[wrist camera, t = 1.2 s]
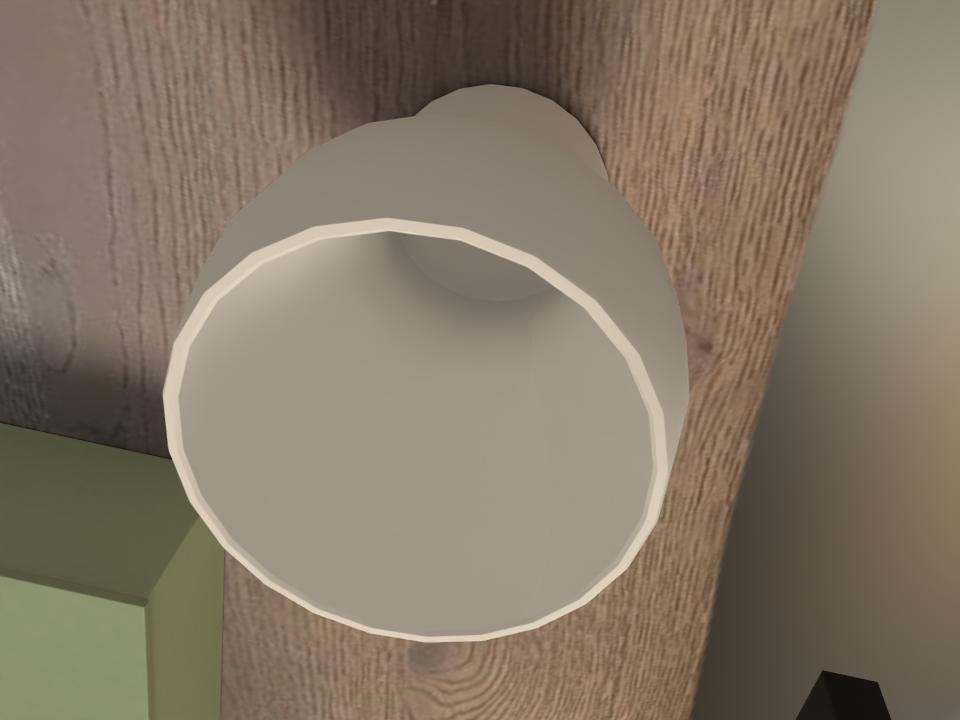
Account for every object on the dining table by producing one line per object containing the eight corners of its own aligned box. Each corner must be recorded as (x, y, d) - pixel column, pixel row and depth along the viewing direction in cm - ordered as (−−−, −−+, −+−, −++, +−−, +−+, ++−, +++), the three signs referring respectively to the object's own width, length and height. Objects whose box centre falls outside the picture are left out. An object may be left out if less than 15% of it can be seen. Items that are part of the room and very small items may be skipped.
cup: (614, -11, 25) (632, 99, 12) (681, 305, 30) (747, 631, 17) (293, 89, 28) (23, 267, 15) (401, 366, 32) (268, 688, 19)
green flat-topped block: (-143, 387, 36) (-319, 506, 29) (232, 468, 36) (144, 607, 29) (-81, 650, 44) (-208, 791, 37) (224, 717, 44) (154, 873, 37)
